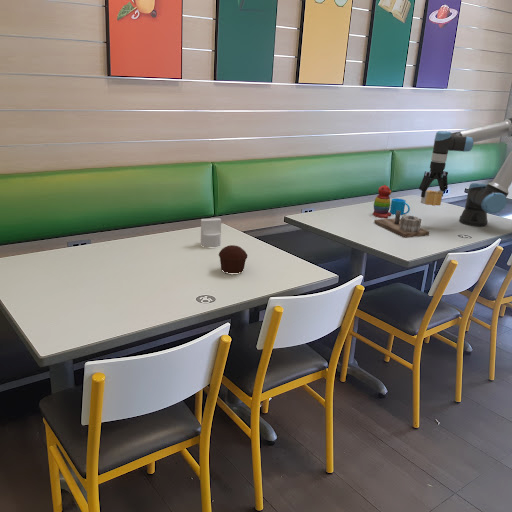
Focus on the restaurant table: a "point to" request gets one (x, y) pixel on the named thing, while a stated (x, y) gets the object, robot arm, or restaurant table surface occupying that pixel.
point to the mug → (398, 206)
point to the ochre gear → (433, 198)
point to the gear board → (396, 228)
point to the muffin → (232, 259)
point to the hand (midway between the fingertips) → (430, 202)
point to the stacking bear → (382, 203)
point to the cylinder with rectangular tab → (211, 232)
